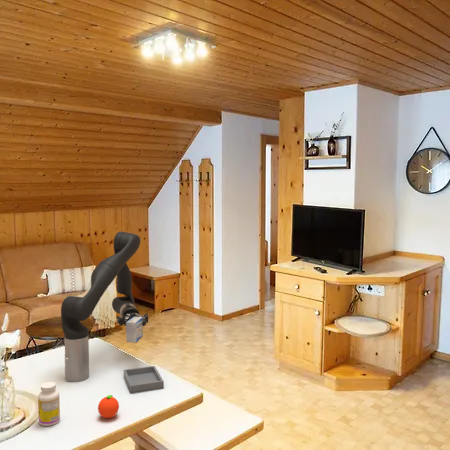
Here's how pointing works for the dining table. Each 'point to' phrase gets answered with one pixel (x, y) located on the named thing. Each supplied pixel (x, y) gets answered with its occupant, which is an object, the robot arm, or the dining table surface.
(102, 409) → the clementine
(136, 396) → the dining table surface
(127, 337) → the medicine box
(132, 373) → the tray
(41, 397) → the supplement bottle
